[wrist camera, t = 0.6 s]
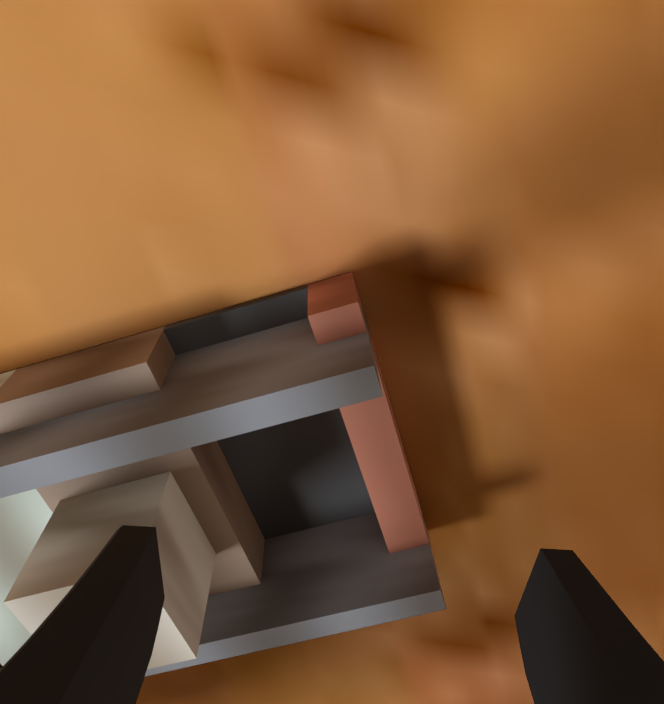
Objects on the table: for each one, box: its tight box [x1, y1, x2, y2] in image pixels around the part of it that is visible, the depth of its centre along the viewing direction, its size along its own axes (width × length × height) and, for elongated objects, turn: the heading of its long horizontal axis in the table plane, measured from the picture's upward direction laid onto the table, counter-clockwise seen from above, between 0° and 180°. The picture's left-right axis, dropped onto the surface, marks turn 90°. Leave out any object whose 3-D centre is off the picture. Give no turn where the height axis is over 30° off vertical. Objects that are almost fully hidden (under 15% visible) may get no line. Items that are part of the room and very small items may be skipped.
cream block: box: [4, 471, 216, 669], centre depth 18 cm, size 4×4×4 cm
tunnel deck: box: [0, 272, 446, 676], centre depth 20 cm, size 18×12×4 cm, turn 106°
